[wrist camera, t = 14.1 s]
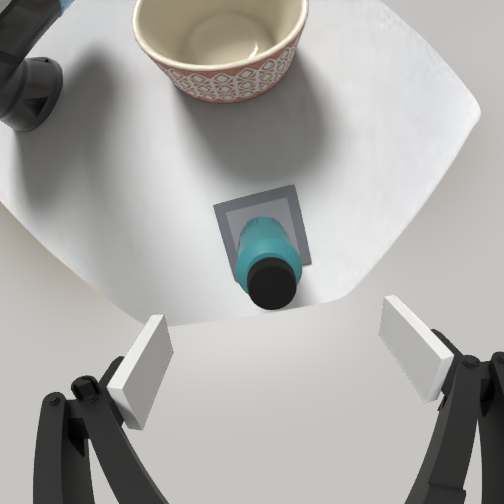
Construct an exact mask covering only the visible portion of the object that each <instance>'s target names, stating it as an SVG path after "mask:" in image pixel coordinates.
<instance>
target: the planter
mask: <svg viewBox="0 0 504 504" xmlns="http://www.w3.org/2000/svg"><path fill="white" fill-rule="evenodd" d="M308 9H309V2H308V0H138V1H137V3H136V5H135V8H134V11H133V17H132V29H133V33H134V36H135V39H136V41H137V43H138V44H139V46H140V47H141V49H142V50H143V51H144V52H145V53H146V54H147V55H148V56H149V57H150V58H151V59H152V60H153V61H154V62H155V63H156V64H157V65H158V67H159V68H160V69H161V70H162V71H163V72H164V73H165V74H166V75H167V76H168V77H169V78H170V79H171V80H172V82H173V83H174V84H175V85H176V86H177V87H178V88H179V89H181V90H182V91H183V92H185V93H186V94H188V95H190V96H192V97H194V98H197V99H200V100H203V101H207V102H213V103H234V102H240V101H245V100H248V99H251V98H254V97H257V96H259V95H261V94H263V93H265V92H266V91H268V90H269V89H271V88H272V87H273V86H275V85H276V84H277V83H278V82H279V81H280V80H281V79H282V78H283V76H284V75H285V74H286V72H287V70H288V68H289V66H290V64H291V62H292V59H293V56H294V53H295V50H296V48H297V45H298V42H299V39H300V36H301V34H302V31H303V28H304V25H305V23H306V19H307V16H308Z"/></svg>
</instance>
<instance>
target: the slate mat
mask: <svg viewBox="0 0 504 504" xmlns="http://www.w3.org/2000/svg"><path fill="white" fill-rule="evenodd" d="M213 207H214V211H215V214H216V218H217V221H218V225H219V228H220V232H221V235H222V239H223V242H224V245H225V249H226V252H227V256H228V259H229V263H230V266H231V269H232V273H233V276H234V279H235V281H238V280H237V277H236V262H237V259H238V253H237V252H238V251H239V247H238V245H239V242H240V239H241V236H240V233H242V230H243V228H244V227H245V225H246V224H247V222H249V221H250V220H252V219H253V218H257V217H262V216H264V217H270V218H273V219H276V221H278V222H280V224H281V226H283V229H284V230H285V232H286V234H287V235H288V237H290V238H289V239H290V240H291V243H292V245H293V244H294V245H293V247H294V248H295V250H296V251H297V252H298V254H299V256H300V259H301V263H302V265H305V264H308V263H311V258H310V253H309V248H308V243H307V238H306V234H305V229H304V224H303V220H302V215H301V211H300V207H299V202H298V198H297V194H296V190H295V186H294V185H291V186H286V187H282V188H278V189H274V190H270V191H266V192H262V193H258V194H254V195H250V196H246V197H242V198H238V199H234V200H231V201H227V202H223V203H220V204H216V205H213ZM239 237H240V238H239ZM237 248H238V249H237ZM237 250H238V251H237Z"/></svg>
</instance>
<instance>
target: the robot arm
mask: <svg viewBox="0 0 504 504" xmlns="http://www.w3.org/2000/svg"><path fill="white" fill-rule="evenodd" d="M74 1H75V0H0V120H1V121H2V122H4V123H5V124H7V125H8V126H10V127H11V128H13V129H14V130H18V131H30V130H33V129H35V128H36V127H38V126H39V125H40V124H41V123H42V122H43V121H44V120H45V119H46V118H47V116H48V115H49V114H50V112H51V111H52V109H53V107H54V105H55V103H56V101H57V99H58V96H59V93H60V89H61V85H62V70H61V67H60V65H59V64H58V63H57V62H56V61H54V60H52V59H50V58H47V57H34V58H25V57H26V56H27V54H28V53H29V52H30V50H31V49H32V48H33V47H34V45H35V44H36V43H37V42H38V40H39V39H40V38H41V37H42V36H43V34H44V33H45V32H46V31H47V30H48V29H49V27H50V26H51V25H52V24H53V23H54V22H55V21H56V20H57V19H58V18H59V17H61V16H62V14H63V13H64V11H65V10H66V9H67V8H68V7H69V6H70V5H71V4H72V3H73V2H74ZM379 336H380V337H381V339H382V340H383V342H384V343H385V344H386V346H387V347H388V349H389V350H390V352H391V353H392V355H393V356H394V357H395V359H396V361H397V362H398V363H399V365H400V366H401V368H402V369H403V371H404V372H405V374H406V375H407V377H408V378H409V380H410V381H411V383H412V384H413V386H414V388H415V389H416V391H417V392H418V394H419V395H420V397H421V398H422V400H423V402H424V403H428V402H431V401H434V400H437V398H438V396H439V394H440V391H442V392H443V394H444V397H443V400H442V402H441V404H440V406H439V408H438V411H439V410H440V411H439V415H438V418H437V422H436V425H435V428H434V432H433V435H432V438H431V441H430V444H429V447H428V450H427V453H426V455H425V458H424V461H423V463H422V466H421V468H420V471H419V473H418V476H417V478H416V480H415V483H414V485H413V487H412V489H411V491H410V493H409V496H408V498H407V500H406V502H405V504H464V501H465V497H466V491H465V490H463V485H464V481H465V478H466V474H467V470H468V466H469V462H470V458H471V453H472V448H473V443H474V437H475V432H476V424H477V418H478V425H479V433H480V443H481V457H482V504H504V352H495V353H494V354H493V355H492V358H491V360H490V361H485V362H480V360H479V359H478V358H476V357H475V356H472V355H463V354H462V353H461V352H460V351H459V350H458V349H457V348H456V347H455V346H454V345H453V344H452V343H450V341H449V340H448V339H446V337H445V336H444V335H443V334H442V333H441V332H439V331H437V330H435V329H432V330H430V329H429V328H428V327H427V326H426V325H425V324H424V323H423V322H422V321H421V320H420V319H419V318H418V317H417V316H416V315H415V314H414V313H413V312H411V310H410V309H408V308H407V306H405V305H404V304H403V303H402V302H401V301H400V300H399V299H398V298H397V297H396V296H395V295H392V296H386V297H384V301H383V309H382V317H381V324H380V331H379ZM172 355H173V348H172V345H171V341H170V337H169V333H168V329H167V325H166V321H165V316H164V314H163V315H152V316H151V317H150V319H149V320H148V322H147V324H146V325H145V327H144V328H143V330H142V331H141V333H140V334H139V336H138V338H137V339H136V341H135V342H134V344H133V345H132V347H131V348H130V350H129V351H128V353H127V355H126V356H125V357H122V356H119V357H118V358H116V359H115V360H114V361H113V362H112V363H111V364H110V366H109V368H108V369H107V370H106V372H105V374H104V375H103V377H102V378H101V380H100V381H99V383H98V382H97V380H96V379H95V378H94V377H92V376H87V375H86V376H81V377H79V378H77V379H76V380H75V381H73V383H72V385H71V390H72V392H73V394H74V395H75V397H76V399H75V400H66V398H65V396H64V395H63V394H62V393H60V392H53V393H50V394H48V395H47V396H46V397H45V398H44V400H43V402H42V407H41V412H40V418H39V425H38V432H37V440H36V449H35V460H34V477H33V504H95V501H94V495H93V488H92V480H91V471H90V461H89V447H88V439H90V440H91V442H92V445H93V448H94V450H95V452H96V455H97V458H98V460H99V463H100V465H101V467H102V469H103V472H104V474H105V476H106V478H107V480H108V482H109V485H110V487H111V489H112V491H113V493H114V495H115V497H116V499H117V501H118V502H119V504H169V503H168V502H167V500H166V499H165V498H164V496H163V495H162V493H161V492H160V490H159V489H158V488H157V486H156V485H155V483H154V482H153V480H152V479H151V477H150V476H149V474H148V472H147V471H146V469H145V468H144V466H143V464H142V463H141V461H140V459H139V458H138V456H137V454H136V452H135V451H134V449H133V447H132V446H131V444H130V442H129V440H128V438H127V436H126V434H125V432H124V431H123V429H122V427H121V426H122V424H123V422H125V423H126V425H127V427H128V428H129V429H136V430H143V428H144V426H145V423H146V420H147V418H148V415H149V412H150V410H151V407H152V405H153V402H154V399H155V397H156V394H157V392H158V389H159V387H160V384H161V382H162V379H163V377H164V374H165V371H166V369H167V367H168V364H169V362H170V359H171V357H172Z"/></svg>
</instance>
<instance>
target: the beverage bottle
mask: <svg viewBox="0 0 504 504" xmlns="http://www.w3.org/2000/svg"><path fill="white" fill-rule="evenodd" d="M240 236H241V239H240V242H239V245H238V247H239V251H238V250H237V251H238V252H237V253H238V259H237V262H236V277H237V280H238V283H239V284H240V286H241V287H242V289H243V290H244V291H245V292H246V293H247V294H249V296H250V298H251V300H252V301H253V302H254V303H255V304H256V305H257V306H259V307H261V308H263V309H266V310H276V309H280V308H283V307H285V306H286V305H288V304H289V303H290V302H291V301H292V299H293V298H294V296H295V293H296V287H297V285H298V283H299V281H300V278H301V275H302V263H301V259H300V256H299V254H298V252H297V251H296V250H295V248H294V247H293V245H294V244H293V245H292V243H291V240H290V239H289V238H290V237H288V235H287V234H286V232H285V230H284V229H283V226H281V224H280V222H278V221H276V219H273V218H270V217H264V216H262V217H257V218H253V219H252V220H250V221H249V222H247V224H246V225H245V227H244V228H243V230H242V233H240ZM239 238H240V237H239ZM237 249H238V248H237Z"/></svg>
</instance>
